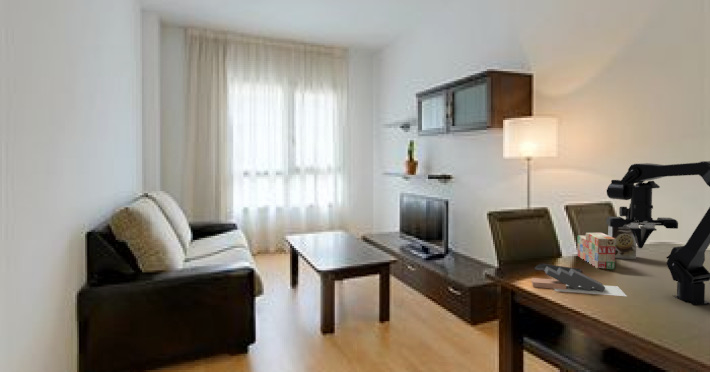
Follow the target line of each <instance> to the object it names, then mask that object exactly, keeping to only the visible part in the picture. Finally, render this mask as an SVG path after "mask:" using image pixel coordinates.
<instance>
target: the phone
mask: <svg viewBox="0 0 710 372" xmlns="http://www.w3.org/2000/svg"><path fill="white" fill-rule="evenodd" d="M546 266H547V267H549V268H551V269H553V270H555V271H557V270H558V268H559V267H560V268H562V269H563V270H565V271H567V272H569V271H570V269H571V268H572V269H574V270H576V271H578V272H580V273H582V269H580V268H576V267H575V268H574V267H567V266H562V265H561V266H560V265H555V264H554V265H553V264H547V263H539V264H538V265H536V266H535V267H534V270H537V271H545V268H546Z"/></svg>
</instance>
